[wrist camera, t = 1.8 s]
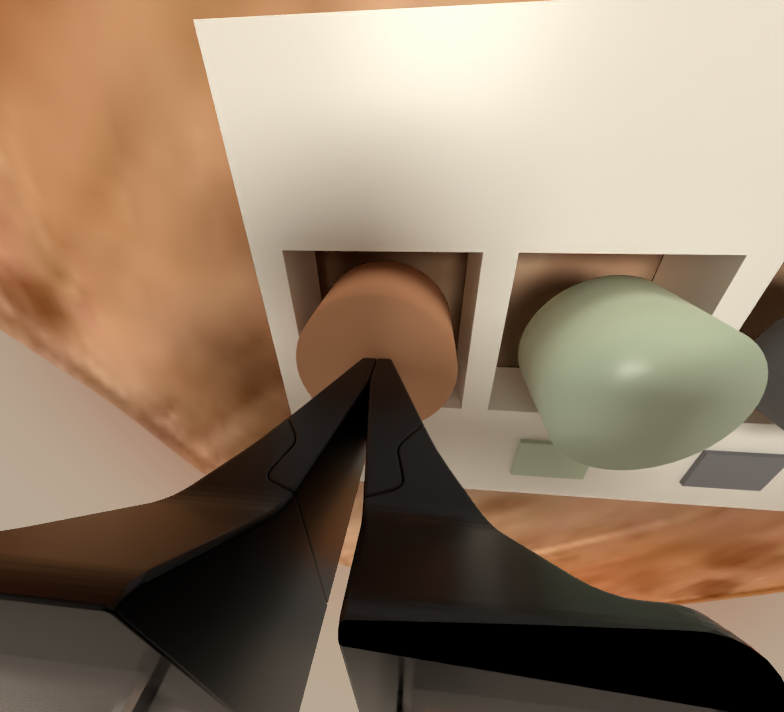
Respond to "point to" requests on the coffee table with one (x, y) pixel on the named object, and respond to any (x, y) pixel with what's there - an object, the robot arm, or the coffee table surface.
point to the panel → (518, 187)
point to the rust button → (383, 332)
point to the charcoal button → (773, 373)
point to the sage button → (636, 374)
